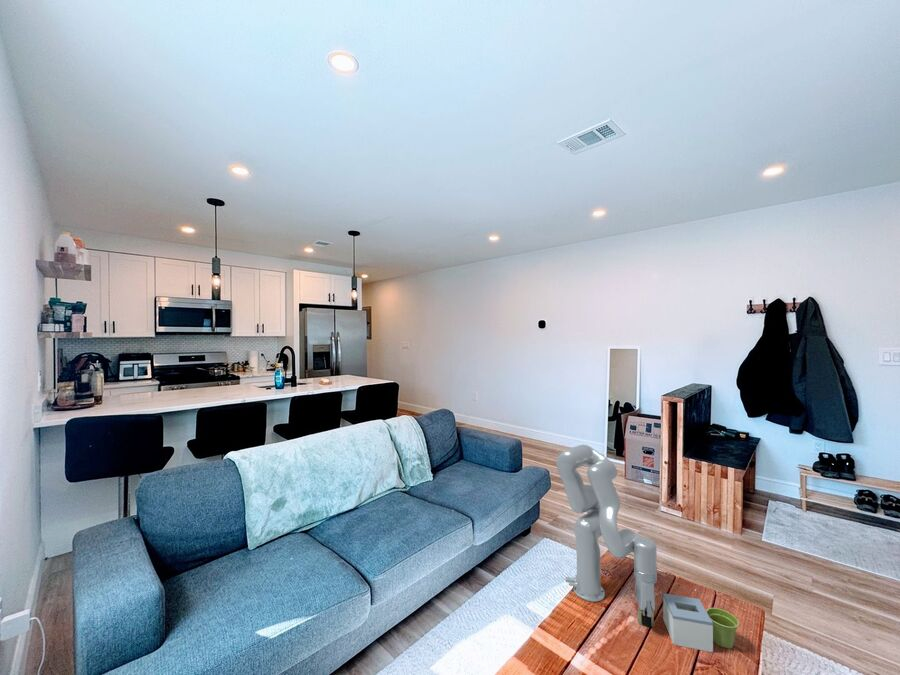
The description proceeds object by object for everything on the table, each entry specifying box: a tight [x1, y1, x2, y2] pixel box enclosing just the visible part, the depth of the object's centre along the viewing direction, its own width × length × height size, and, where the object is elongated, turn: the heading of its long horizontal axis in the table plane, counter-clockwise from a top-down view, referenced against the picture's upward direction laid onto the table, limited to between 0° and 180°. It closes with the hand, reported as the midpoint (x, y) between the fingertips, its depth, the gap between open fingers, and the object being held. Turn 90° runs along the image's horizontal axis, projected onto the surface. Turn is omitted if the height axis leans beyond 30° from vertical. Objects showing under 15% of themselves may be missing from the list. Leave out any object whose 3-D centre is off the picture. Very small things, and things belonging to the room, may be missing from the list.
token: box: [637, 606, 655, 628], centre depth 138 cm, size 5×2×5 cm, turn 75°
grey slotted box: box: [662, 593, 714, 653], centre depth 132 cm, size 12×12×10 cm
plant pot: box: [705, 607, 740, 649], centre depth 130 cm, size 9×9×9 cm
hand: (645, 622), depth 138 cm, fingers closed on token, 1 cm apart
